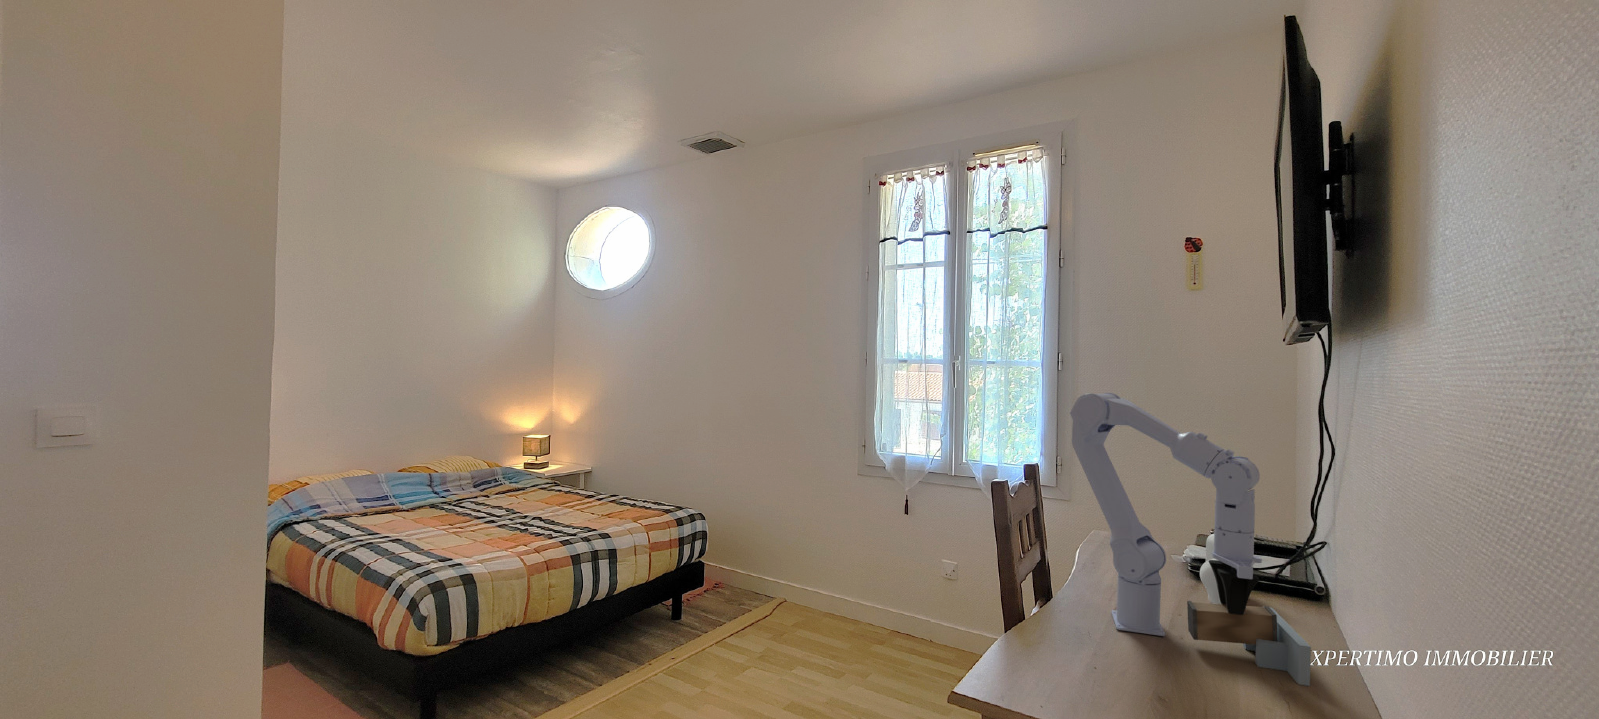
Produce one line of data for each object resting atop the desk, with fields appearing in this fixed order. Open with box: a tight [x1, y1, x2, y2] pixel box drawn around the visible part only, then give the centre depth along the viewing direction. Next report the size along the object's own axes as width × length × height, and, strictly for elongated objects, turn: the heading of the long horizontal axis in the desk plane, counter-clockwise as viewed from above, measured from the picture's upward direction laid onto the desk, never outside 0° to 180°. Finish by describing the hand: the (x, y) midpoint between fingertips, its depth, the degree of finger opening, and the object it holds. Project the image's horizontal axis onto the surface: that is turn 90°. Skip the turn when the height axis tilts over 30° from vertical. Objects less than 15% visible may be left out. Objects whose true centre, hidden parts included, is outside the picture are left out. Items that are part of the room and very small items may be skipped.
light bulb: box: [1199, 559, 1221, 604], centre depth 134 cm, size 7×7×11 cm
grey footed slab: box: [1242, 605, 1312, 687], centre depth 114 cm, size 18×6×6 cm, turn 161°
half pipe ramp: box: [1186, 600, 1278, 645], centre depth 116 cm, size 12×4×5 cm, turn 71°
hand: (1231, 609), depth 116 cm, fingers closed on half pipe ramp, 4 cm apart
